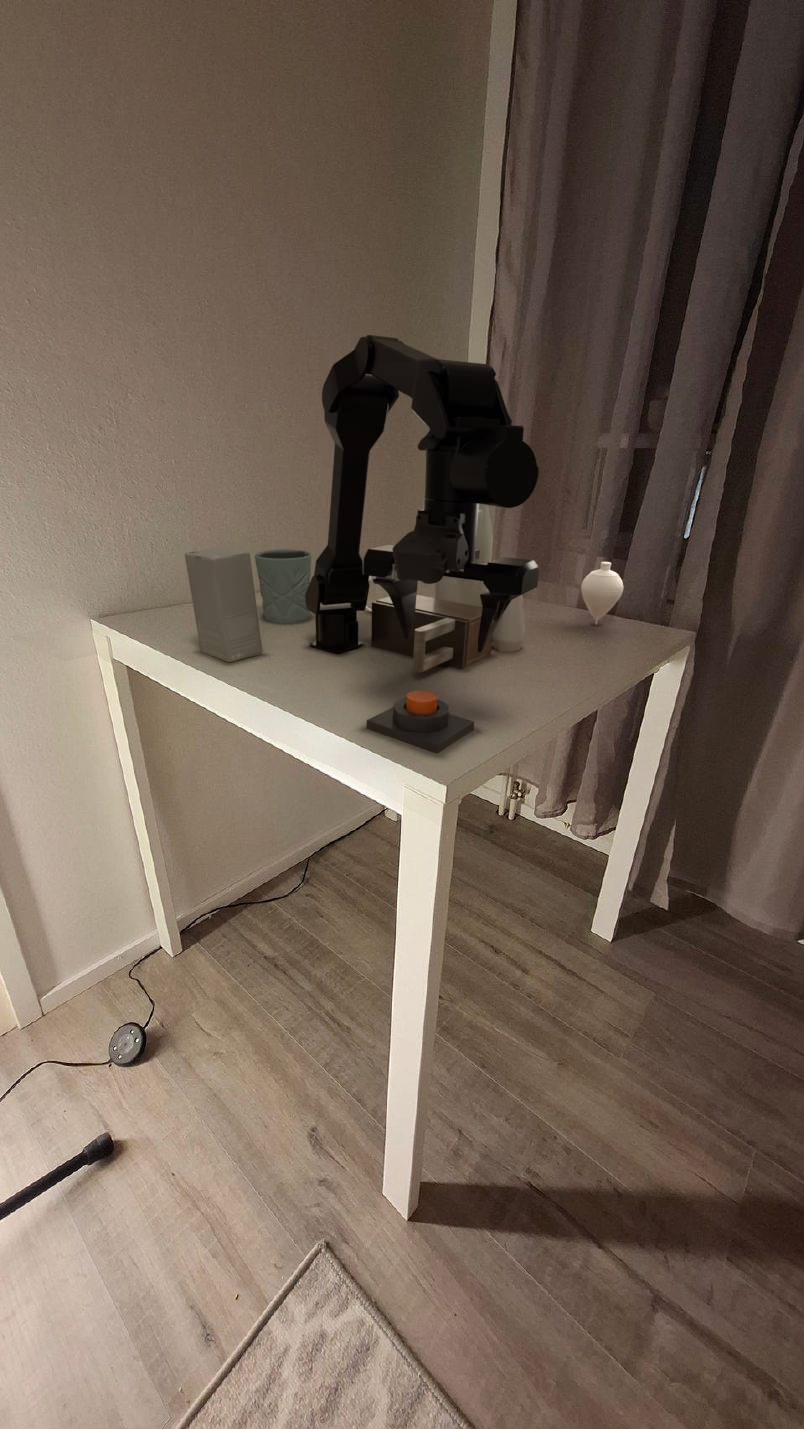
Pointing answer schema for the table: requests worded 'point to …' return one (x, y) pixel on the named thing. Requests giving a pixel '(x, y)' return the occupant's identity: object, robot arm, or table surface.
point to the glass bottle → (458, 587)
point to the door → (421, 637)
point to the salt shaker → (510, 628)
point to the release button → (421, 702)
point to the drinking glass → (284, 584)
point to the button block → (421, 726)
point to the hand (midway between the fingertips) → (443, 645)
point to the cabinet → (457, 612)
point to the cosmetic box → (224, 603)
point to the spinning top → (601, 590)
